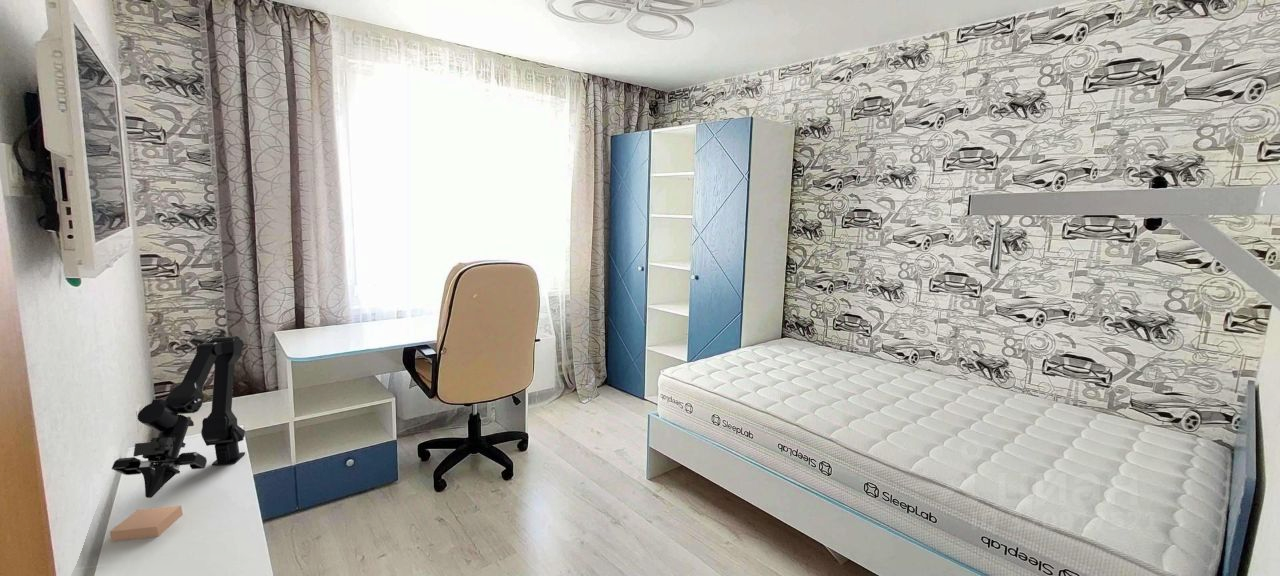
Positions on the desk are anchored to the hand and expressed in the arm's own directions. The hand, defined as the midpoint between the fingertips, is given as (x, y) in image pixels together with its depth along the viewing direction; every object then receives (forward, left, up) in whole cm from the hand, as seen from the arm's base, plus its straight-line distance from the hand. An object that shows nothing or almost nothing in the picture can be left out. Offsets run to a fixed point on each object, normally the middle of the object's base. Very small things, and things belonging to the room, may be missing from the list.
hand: (148, 497), depth 135 cm
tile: (-3, 0, -6) cm, 7 cm away
